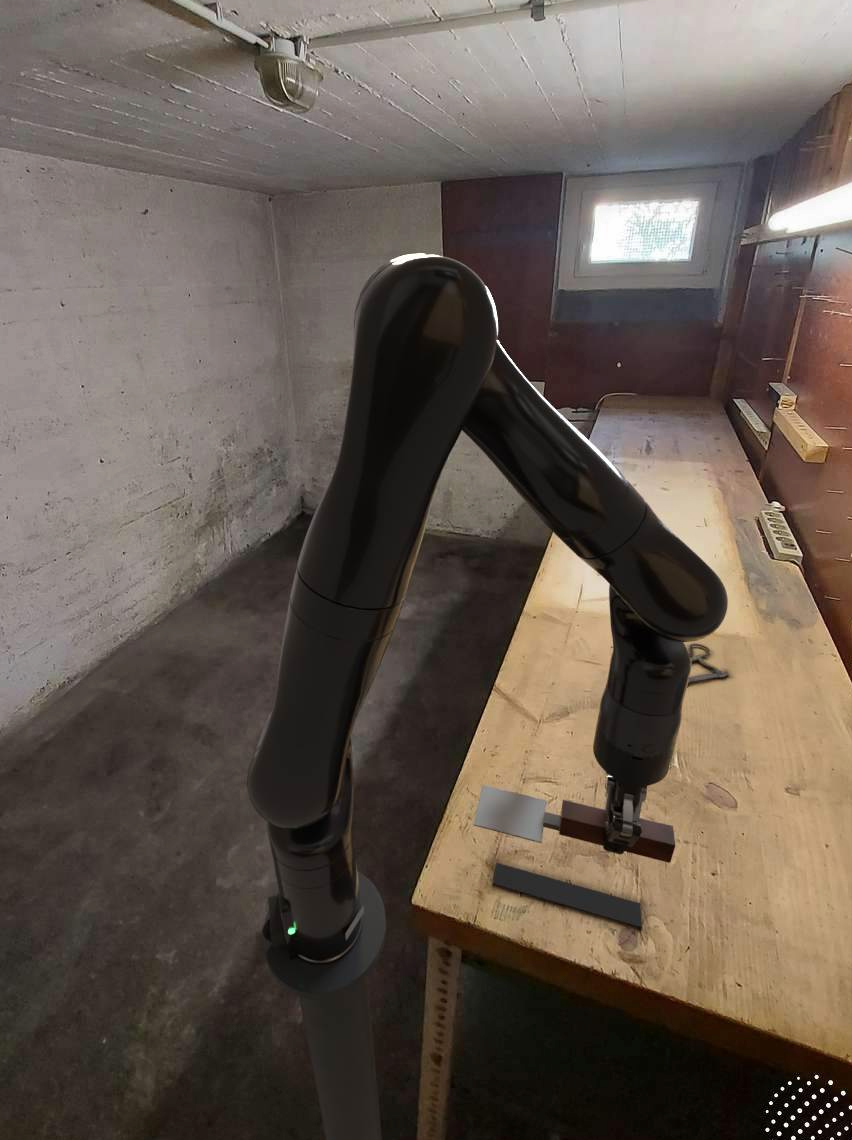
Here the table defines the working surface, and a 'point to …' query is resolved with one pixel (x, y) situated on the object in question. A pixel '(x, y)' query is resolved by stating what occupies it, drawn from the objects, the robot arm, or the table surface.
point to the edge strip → (568, 894)
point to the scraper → (564, 822)
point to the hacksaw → (707, 676)
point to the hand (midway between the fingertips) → (612, 837)
